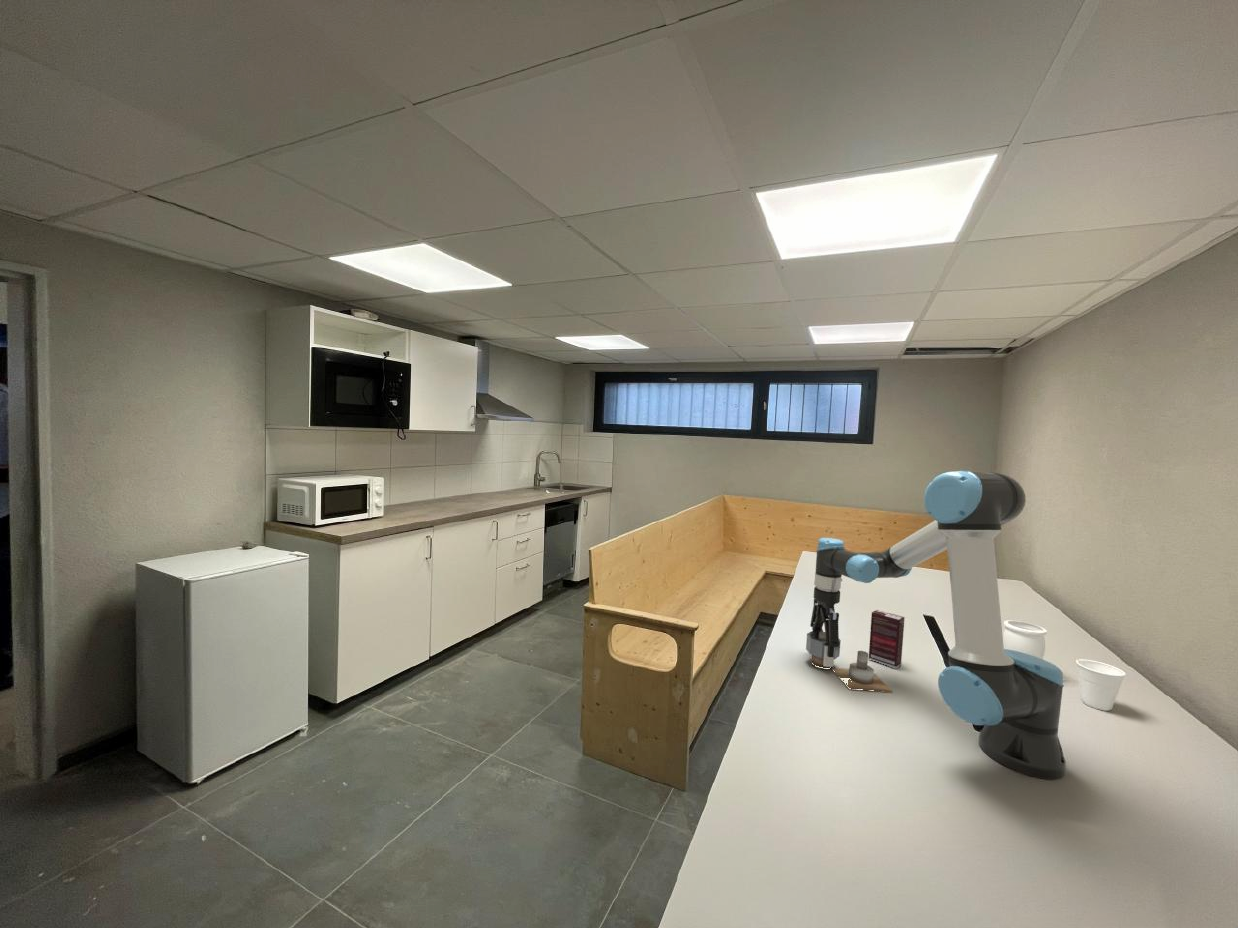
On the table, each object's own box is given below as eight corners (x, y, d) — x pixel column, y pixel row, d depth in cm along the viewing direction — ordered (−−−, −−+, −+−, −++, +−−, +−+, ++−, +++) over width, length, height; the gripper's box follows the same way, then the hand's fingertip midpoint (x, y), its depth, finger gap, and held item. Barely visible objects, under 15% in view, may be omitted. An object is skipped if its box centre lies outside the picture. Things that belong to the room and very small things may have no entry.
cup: (1132, 717, 130) (1136, 678, 129) (1088, 711, 132) (1093, 672, 131) (1103, 699, 139) (1107, 661, 139) (1063, 693, 141) (1067, 656, 141)
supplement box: (901, 665, 154) (905, 616, 154) (896, 669, 151) (900, 620, 150) (872, 655, 161) (876, 608, 160) (867, 659, 158) (871, 611, 157)
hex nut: (843, 659, 147) (844, 643, 147) (813, 657, 147) (814, 641, 147) (831, 647, 156) (832, 632, 156) (802, 645, 156) (804, 630, 156)
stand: (835, 670, 149) (837, 638, 148) (815, 668, 149) (817, 636, 148) (827, 661, 155) (829, 630, 154) (808, 660, 155) (810, 629, 154)
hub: (892, 692, 136) (894, 663, 136) (849, 689, 137) (851, 660, 136) (871, 672, 148) (873, 645, 148) (831, 669, 149) (833, 642, 148)
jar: (1026, 666, 159) (1030, 621, 159) (1051, 681, 149) (1055, 633, 148) (992, 662, 160) (996, 618, 160) (1014, 677, 150) (1018, 630, 149)
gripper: (855, 600, 140) (849, 676, 141) (825, 579, 161) (820, 645, 162) (829, 598, 140) (823, 674, 141) (803, 577, 161) (798, 643, 163)
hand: (821, 658), depth 152 cm, fingers closed on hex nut, 9 cm apart
